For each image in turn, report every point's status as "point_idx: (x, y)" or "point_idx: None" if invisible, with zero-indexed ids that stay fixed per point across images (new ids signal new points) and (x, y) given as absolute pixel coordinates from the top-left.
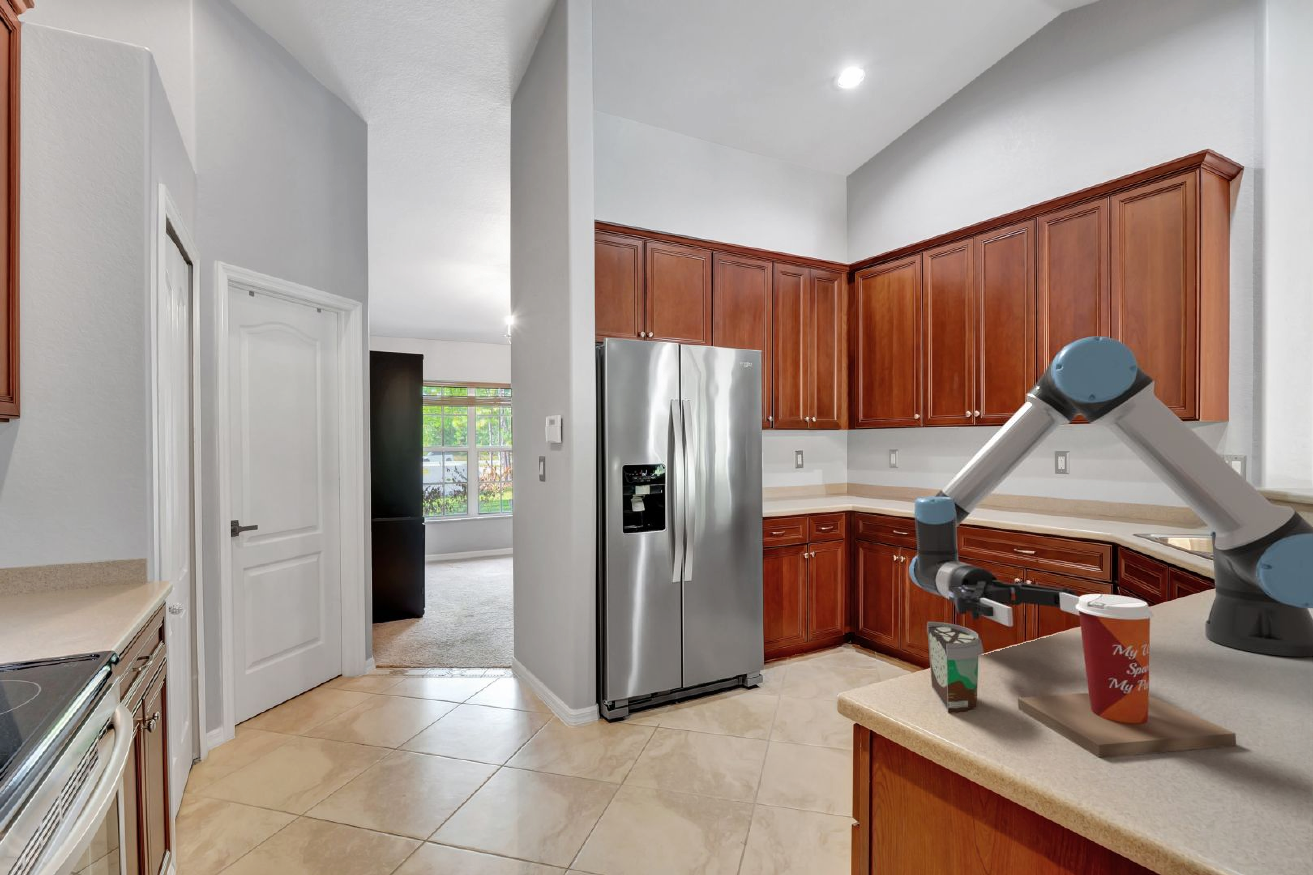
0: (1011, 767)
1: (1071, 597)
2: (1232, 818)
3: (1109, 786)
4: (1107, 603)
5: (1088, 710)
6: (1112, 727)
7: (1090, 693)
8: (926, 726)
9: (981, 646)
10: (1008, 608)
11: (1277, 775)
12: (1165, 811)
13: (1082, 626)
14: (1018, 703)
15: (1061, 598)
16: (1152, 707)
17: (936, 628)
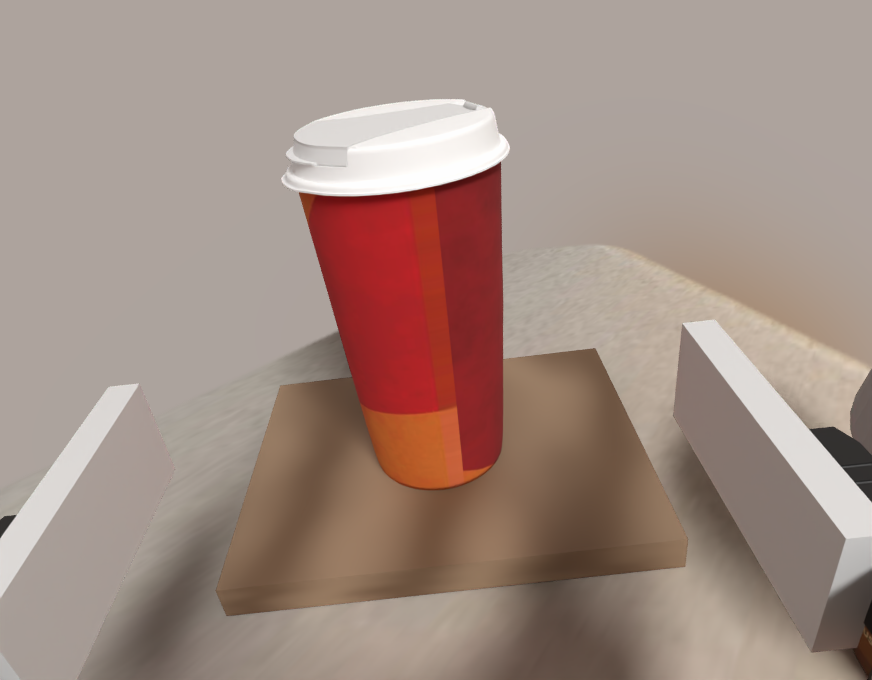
0: (791, 343)
1: (68, 510)
2: (512, 284)
3: (632, 316)
4: (442, 107)
5: (503, 465)
6: (512, 397)
7: (501, 410)
8: None
9: (866, 377)
10: (705, 324)
11: (338, 346)
12: (588, 287)
13: (498, 217)
14: (685, 552)
15: (16, 641)
16: (312, 477)
17: None
